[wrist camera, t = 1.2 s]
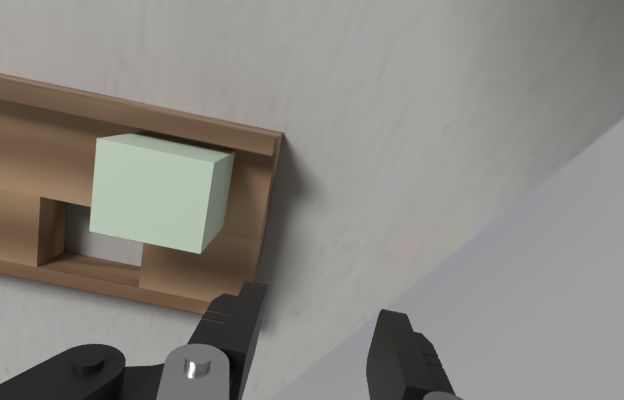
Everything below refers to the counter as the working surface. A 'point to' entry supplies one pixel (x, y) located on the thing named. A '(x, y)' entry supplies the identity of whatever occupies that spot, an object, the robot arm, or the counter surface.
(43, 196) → the box
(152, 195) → the block
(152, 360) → the counter surface
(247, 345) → the robot arm
